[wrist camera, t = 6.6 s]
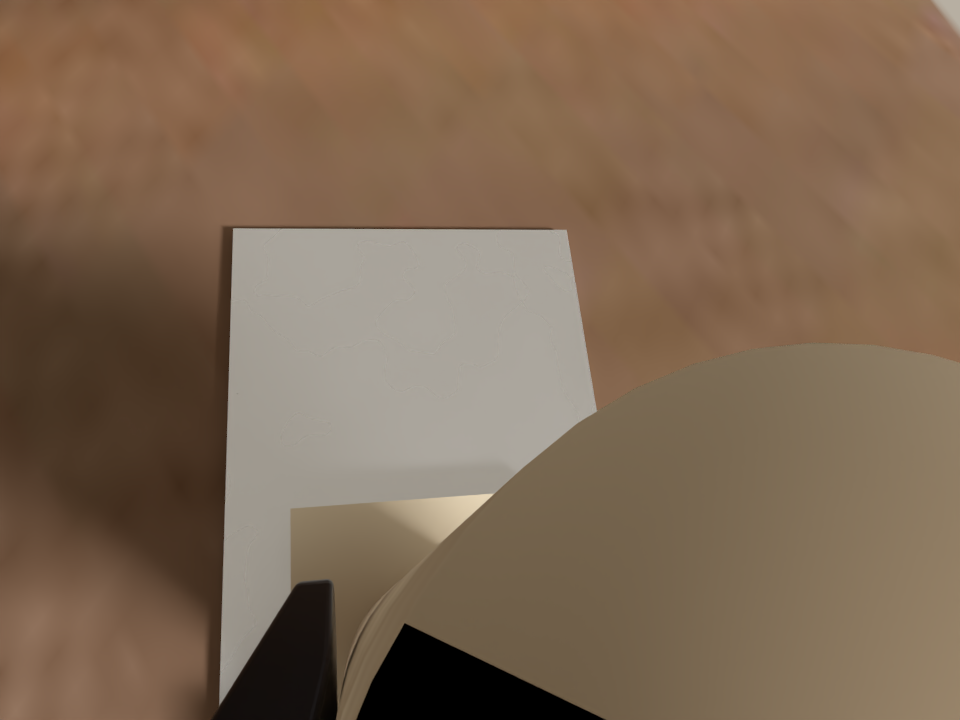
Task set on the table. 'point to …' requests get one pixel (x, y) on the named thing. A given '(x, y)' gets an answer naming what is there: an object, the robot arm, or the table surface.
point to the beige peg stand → (676, 558)
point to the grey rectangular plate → (384, 383)
